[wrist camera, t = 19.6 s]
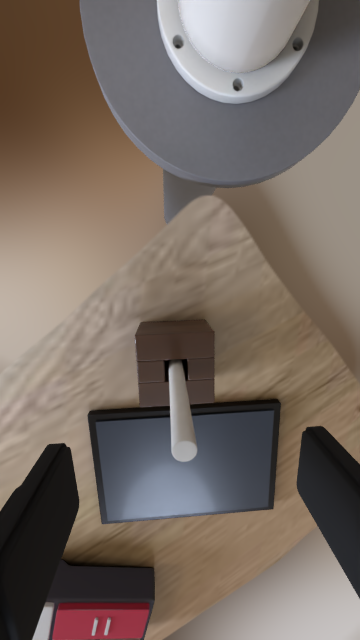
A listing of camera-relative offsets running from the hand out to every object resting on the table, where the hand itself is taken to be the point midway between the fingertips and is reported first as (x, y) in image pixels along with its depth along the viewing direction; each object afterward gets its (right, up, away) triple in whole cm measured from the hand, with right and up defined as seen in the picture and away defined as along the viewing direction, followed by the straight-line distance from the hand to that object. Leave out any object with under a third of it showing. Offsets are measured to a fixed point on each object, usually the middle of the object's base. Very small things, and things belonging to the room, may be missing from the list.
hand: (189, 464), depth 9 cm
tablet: (0, -10, +17) cm, 20 cm away
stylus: (-1, +2, +14) cm, 14 cm away
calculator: (-12, -29, +21) cm, 38 cm away
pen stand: (-1, +3, +14) cm, 14 cm away
